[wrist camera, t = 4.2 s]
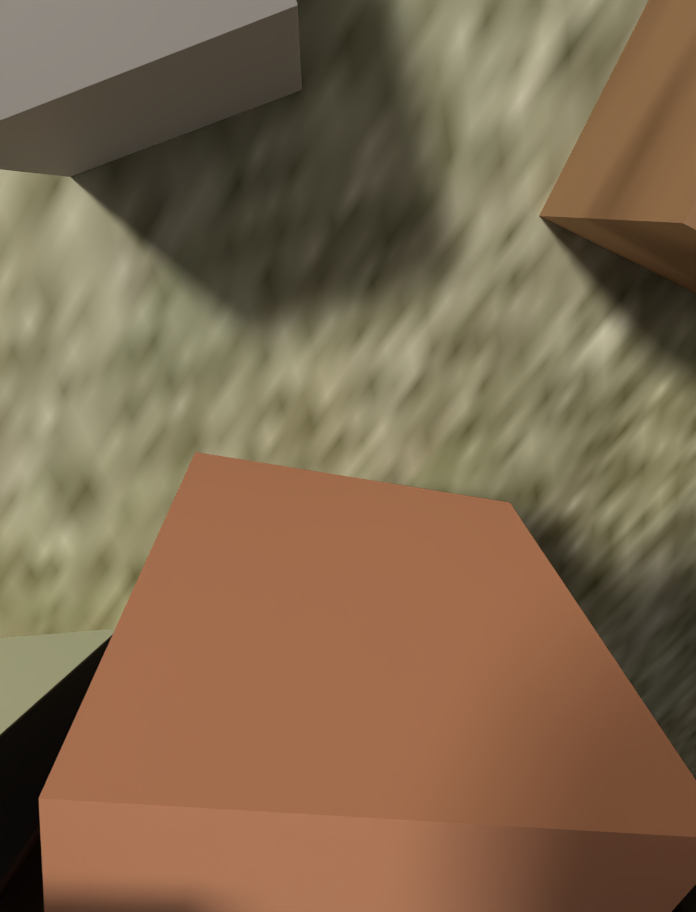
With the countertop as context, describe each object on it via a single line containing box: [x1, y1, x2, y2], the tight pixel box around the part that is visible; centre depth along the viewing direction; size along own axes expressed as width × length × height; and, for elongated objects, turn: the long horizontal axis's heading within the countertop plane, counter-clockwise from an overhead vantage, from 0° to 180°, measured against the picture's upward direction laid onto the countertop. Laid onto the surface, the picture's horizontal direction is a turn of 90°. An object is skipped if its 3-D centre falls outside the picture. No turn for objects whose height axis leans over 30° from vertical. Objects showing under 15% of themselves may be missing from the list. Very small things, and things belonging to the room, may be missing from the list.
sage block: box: [0, 629, 115, 734], centre depth 16 cm, size 6×6×6 cm
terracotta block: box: [39, 452, 696, 912], centre depth 8 cm, size 6×6×6 cm
